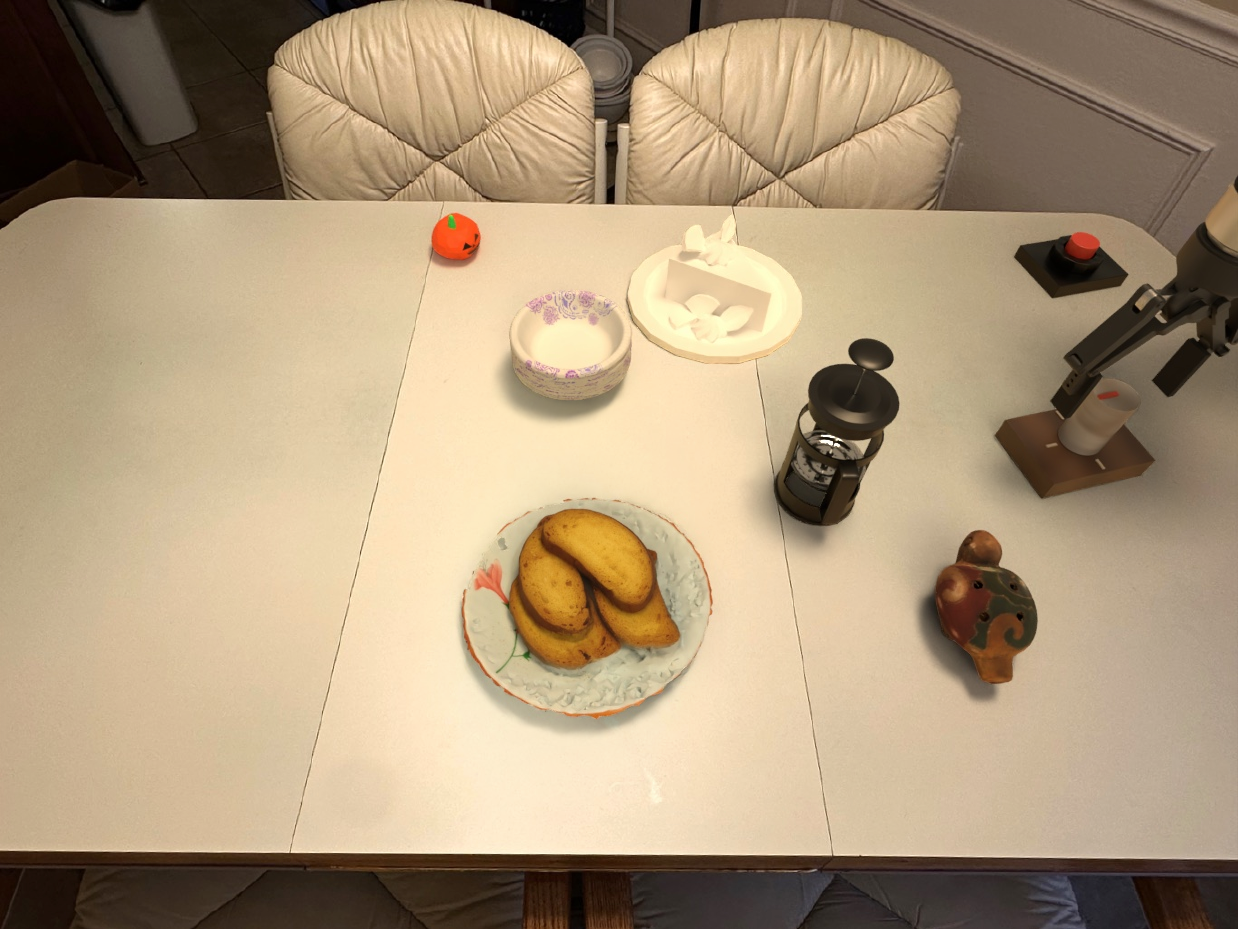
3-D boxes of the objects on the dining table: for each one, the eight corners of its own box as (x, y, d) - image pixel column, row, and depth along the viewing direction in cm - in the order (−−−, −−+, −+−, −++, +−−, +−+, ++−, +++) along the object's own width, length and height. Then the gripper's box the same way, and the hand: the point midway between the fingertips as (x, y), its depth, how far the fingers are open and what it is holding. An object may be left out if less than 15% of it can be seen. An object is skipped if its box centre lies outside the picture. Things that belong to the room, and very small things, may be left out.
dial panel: (1089, 414, 96) (1102, 398, 93) (1141, 475, 90) (1156, 459, 87) (994, 435, 93) (1005, 418, 91) (1041, 498, 87) (1054, 483, 85)
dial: (1084, 420, 91) (1122, 372, 84) (1110, 451, 88) (1152, 404, 81) (1049, 427, 90) (1085, 380, 83) (1074, 459, 87) (1113, 413, 81)
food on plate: (435, 703, 71) (422, 677, 66) (498, 493, 86) (491, 458, 81) (700, 744, 69) (708, 721, 64) (717, 522, 84) (725, 488, 79)
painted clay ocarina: (988, 557, 82) (1026, 522, 76) (1032, 694, 74) (1080, 669, 67) (903, 555, 82) (935, 521, 75) (938, 694, 73) (977, 669, 67)
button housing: (1079, 245, 117) (1093, 224, 114) (1120, 286, 111) (1136, 264, 108) (1013, 256, 115) (1025, 234, 112) (1052, 298, 109) (1065, 276, 106)
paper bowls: (531, 429, 92) (526, 385, 85) (502, 347, 100) (496, 301, 94) (646, 401, 95) (650, 357, 89) (609, 324, 104) (609, 278, 97)
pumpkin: (483, 234, 115) (478, 198, 110) (480, 267, 110) (475, 231, 105) (436, 235, 115) (429, 198, 109) (431, 268, 110) (423, 231, 105)
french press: (768, 455, 90) (812, 310, 72) (845, 456, 90) (909, 312, 72) (781, 538, 83) (833, 401, 65) (864, 539, 83) (940, 403, 65)
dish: (592, 294, 107) (592, 227, 98) (714, 228, 117) (724, 162, 108) (713, 391, 96) (725, 326, 87) (836, 309, 107) (858, 243, 98)
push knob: (1081, 241, 112) (1088, 230, 110) (1098, 258, 110) (1106, 246, 108) (1058, 245, 111) (1065, 233, 110) (1075, 262, 109) (1082, 250, 107)
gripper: (1322, 197, 71) (1180, 357, 88) (1101, 232, 66) (996, 393, 83) (1389, 245, 66) (1226, 403, 83) (1158, 286, 62) (1035, 444, 79)
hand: (1111, 398), depth 83 cm, fingers open, 13 cm apart
